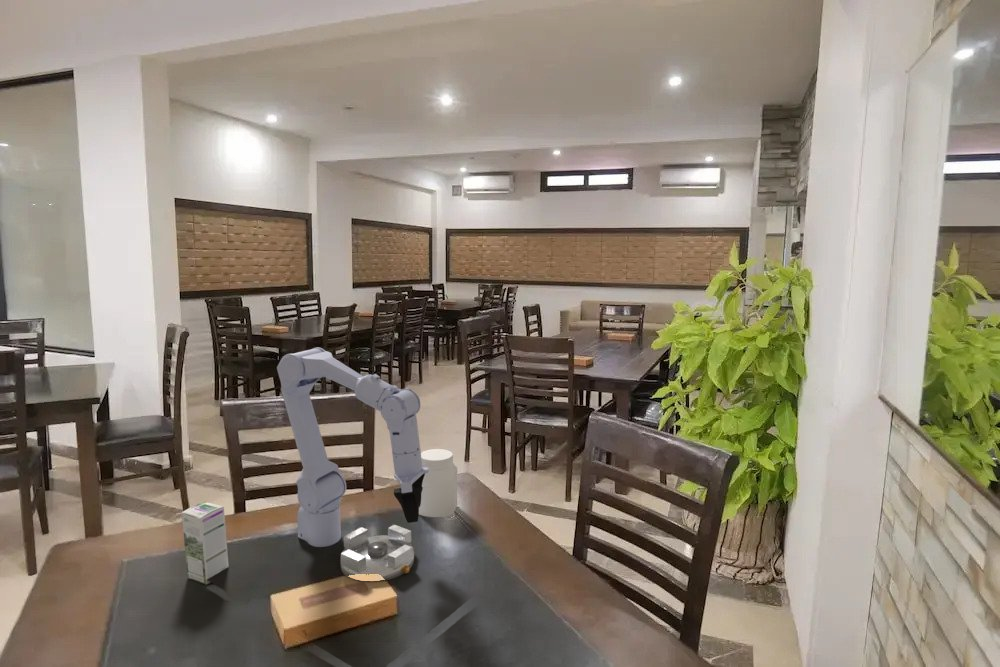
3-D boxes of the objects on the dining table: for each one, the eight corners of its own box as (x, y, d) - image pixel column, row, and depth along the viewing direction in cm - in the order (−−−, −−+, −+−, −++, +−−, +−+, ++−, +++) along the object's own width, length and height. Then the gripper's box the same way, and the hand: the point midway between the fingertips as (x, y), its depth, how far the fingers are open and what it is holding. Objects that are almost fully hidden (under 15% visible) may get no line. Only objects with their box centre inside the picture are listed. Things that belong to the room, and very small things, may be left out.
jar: (451, 522, 144) (451, 463, 141) (412, 520, 144) (411, 462, 142) (459, 502, 155) (458, 447, 153) (423, 500, 156) (422, 446, 154)
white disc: (325, 566, 122) (324, 546, 121) (378, 537, 134) (378, 518, 133) (380, 592, 113) (379, 570, 112) (432, 558, 125) (432, 538, 124)
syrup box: (230, 571, 122) (225, 505, 120) (205, 586, 117) (200, 517, 114) (210, 564, 124) (206, 499, 122) (185, 579, 119) (180, 511, 117)
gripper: (423, 458, 113) (432, 526, 115) (427, 437, 128) (434, 498, 129) (386, 463, 113) (395, 530, 114) (394, 441, 127) (402, 502, 129)
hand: (414, 513), depth 122 cm, fingers open, 7 cm apart
